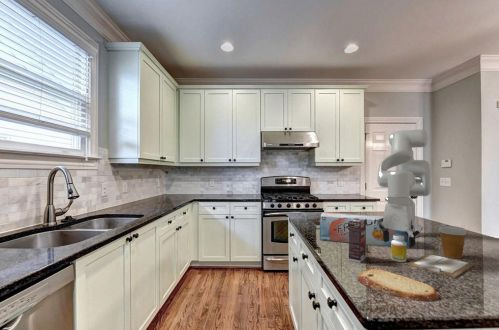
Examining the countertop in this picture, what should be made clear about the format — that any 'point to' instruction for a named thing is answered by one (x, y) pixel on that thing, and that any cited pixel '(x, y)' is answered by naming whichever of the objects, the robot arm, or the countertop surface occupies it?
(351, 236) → the supplement box
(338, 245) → the countertop surface
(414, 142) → the robot arm
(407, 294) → the bread slice
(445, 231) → the disposable coffee cup
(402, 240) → the supplement bottle
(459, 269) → the clipboard
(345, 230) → the soda box
